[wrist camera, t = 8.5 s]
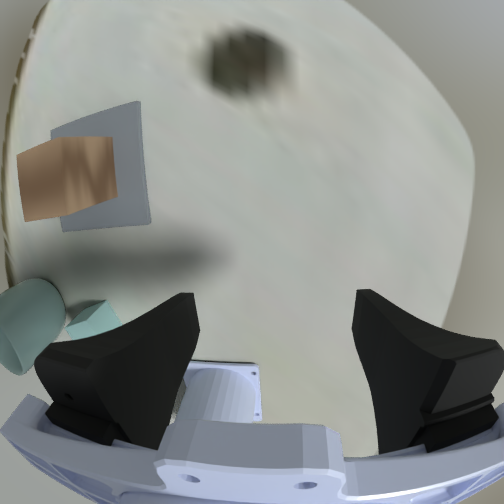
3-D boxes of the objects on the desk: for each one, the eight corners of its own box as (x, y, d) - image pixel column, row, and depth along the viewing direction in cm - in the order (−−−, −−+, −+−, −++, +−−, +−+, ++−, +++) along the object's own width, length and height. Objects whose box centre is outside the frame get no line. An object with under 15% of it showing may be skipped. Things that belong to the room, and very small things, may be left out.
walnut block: (118, 196, 20) (67, 215, 14) (75, 203, 21) (24, 222, 15) (112, 136, 19) (58, 136, 13) (69, 149, 19) (16, 155, 13)
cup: (61, 267, 24) (-3, 313, 15) (83, 330, 27) (35, 384, 17) (24, 269, 25) (-31, 306, 16) (44, 324, 28) (-1, 367, 18)
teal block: (127, 331, 26) (110, 354, 22) (104, 338, 27) (86, 359, 23) (107, 299, 25) (86, 320, 21) (84, 308, 26) (64, 327, 22)
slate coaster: (151, 222, 22) (148, 224, 21) (66, 230, 23) (62, 232, 22) (140, 101, 18) (137, 100, 18) (54, 130, 19) (50, 130, 19)
